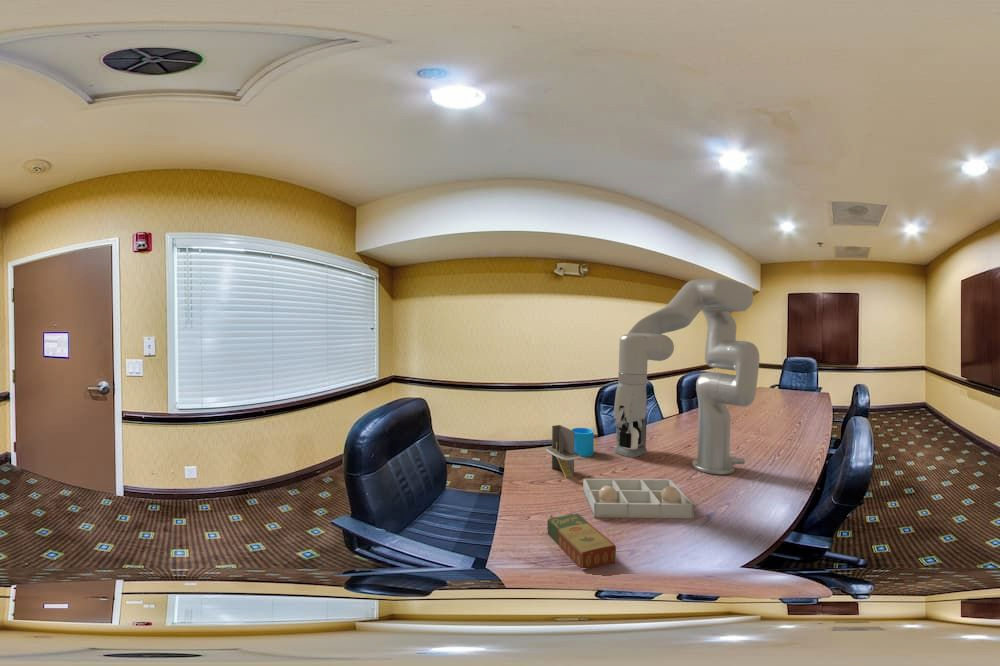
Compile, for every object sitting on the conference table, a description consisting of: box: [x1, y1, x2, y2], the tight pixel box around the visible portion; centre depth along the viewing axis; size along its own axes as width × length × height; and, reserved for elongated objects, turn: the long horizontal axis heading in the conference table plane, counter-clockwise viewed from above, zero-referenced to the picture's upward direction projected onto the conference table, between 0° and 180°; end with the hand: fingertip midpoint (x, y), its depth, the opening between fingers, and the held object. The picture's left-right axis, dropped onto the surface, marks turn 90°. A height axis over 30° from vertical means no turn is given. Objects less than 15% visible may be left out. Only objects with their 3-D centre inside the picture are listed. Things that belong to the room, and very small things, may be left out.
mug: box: [570, 427, 595, 457], centre depth 164 cm, size 12×8×8 cm
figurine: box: [613, 394, 649, 459], centre depth 165 cm, size 10×14×25 cm
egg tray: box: [582, 478, 695, 519], centre depth 123 cm, size 25×17×4 cm
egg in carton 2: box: [661, 486, 680, 504], centre depth 118 cm, size 5×5×6 cm
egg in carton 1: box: [599, 486, 617, 503], centre depth 119 cm, size 5×5×6 cm
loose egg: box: [623, 427, 639, 449], centre depth 125 cm, size 5×5×6 cm
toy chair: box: [545, 424, 581, 479], centre depth 145 cm, size 20×25×15 cm
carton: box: [546, 512, 617, 569], centre depth 100 cm, size 8×16×4 cm, turn 20°
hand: (630, 444), depth 126 cm, fingers closed on loose egg, 4 cm apart
